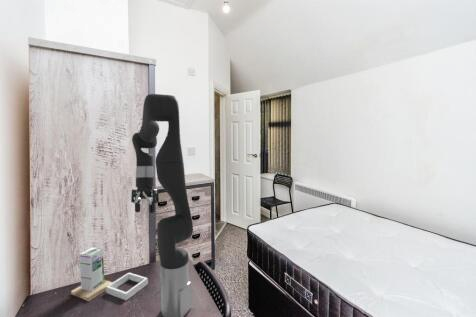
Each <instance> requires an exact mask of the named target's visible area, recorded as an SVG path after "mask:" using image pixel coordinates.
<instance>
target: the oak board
mask: <svg viewBox="0 0 476 317" xmlns="http://www.w3.org/2000/svg"><path fill="white" fill-rule="evenodd" d="M113 282H114V281H110V280H107V279H105V283H104V284H102V285H101V286H99V287H98V288H96V289H95V290H94V291H87V290H83V289H81V285H79V286H77V287H76V288H74V289H72V290H71V291H70V294H71V295H72V296H74V297H77V298H80V299H83V300H85V301H87V302H90V301H91V300H93V299H94V298H96V297H97V296H99V295H101V294H103V293H104V292H106V287H107V286H108V285H110V284H111V283H113Z"/></svg>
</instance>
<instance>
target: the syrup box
mask: <svg viewBox="0 0 476 317" xmlns="http://www.w3.org/2000/svg"><path fill="white" fill-rule="evenodd" d="M78 257H79V273H80V286H81V289H83V290H87V291H94V290H95V289H96V288H98V287H99V286H101V285H102V284H104V283H105V280H106V279H105V265H104V264H105V263H104V262H105V261H104V249H103V248H101V247H90V248H88V249H86V250H85V251H83V252H81V253H79V254H78Z"/></svg>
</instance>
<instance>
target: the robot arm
mask: <svg viewBox="0 0 476 317" xmlns="http://www.w3.org/2000/svg"><path fill="white" fill-rule="evenodd" d="M179 106H180V105H179V102H178V99H177V97H176V96H175V95H171V94H161V93H160V94H159V93H149V94H147V95H146V96H145V98H144V102H143V108H142V109H143V110H142V116H141V117H142V119H141V120H142V122H141V125H140V126H141V127H140V130H139V131H138V132H135V133H133V135H132V138H131V141H132V145H133V149H134V151H135V156H136V157H135V158H136V160H135V161H136V162H135V163H136V166H135V167H136V168H135V189H133V188H132V189H131V194H130V195H131V198H130V202H131V203H133V204H134V212H135V213H140V212H141V202H142V201H143V200H146V201H147V202H148V203H149V207H148V210H149V214H154V213H155V211H156V206H155V205H156V204H158V203H159V202H160V200H159V199H160V198H159V197H160V196H159V189H158V188H155V189H154V188H153V187H154V185H155V184H154V180H155V179H154V171H156V177H157V180H158V183H159V185H161V187H162V188H163V189H164V191H165V193H167V194H168V196H169V197H170V199H171V200H172V203H173V206H174V212H175V213H174V215H171V216H166V217H163V218H161V219H160V220H159V221H158V222H157V223H158V224H157V226H156V233H157V234H156V236H157V246H158V250H157V251H158V256H159V261H160V262H159V264H160V266H159V267H160V303H161V305H160V307H161V316H162V317H185V316H186V314H188V312H190V310H191V309H192V282H191V281H189V253H188V251H187V250H186V249H184V248H177V247H176V244H178V243H179V244H180V243H181V242H184V241H187V240H189V239H190V238H191V237H192V236H193V233H194V223H193V218H192V214H191V209H190V208H191V207H190V205H189V200H188V194H187V192H188V191H187V186H186V185H187V184H186V175H185V165H184V164H185V163H184V157H183V150H182V143H181V130H180V129H181V127H180V108H179ZM158 122H168V123H167V124H168V128H167V134H166V137H165V139H164V141H163V143H162V144H161V147H160V148H159V150H158V152H157V154H156V157H155V169H156V170H154V156H153V154H152V153H148V152H144V151H143V150H142V149H154V148H155V147H157V143H158V140H157V137H158V134H159V132H160V125H159V123H158Z"/></svg>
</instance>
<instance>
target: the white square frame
mask: <svg viewBox="0 0 476 317" xmlns="http://www.w3.org/2000/svg"><path fill="white" fill-rule="evenodd" d="M127 281H132V282H135V283H137V284H135V285H134V286H133V287H131V288H130V289H128V290H127V291H124V290H121V289H119V287H120V286H121V285H123V284H124V283H126V282H127ZM112 282H113V283H111V284H110V285H108V286H107V287H106V290H105V292H106V294H108V295H111V296H112V297H116V298H119V299H121V300H124V301H127V300H129V299H131V298H132V297H133V296H135V294H137V293H138V292H140V290H143V288H145V287H146V286H147V285H148V284H149V278H148V277H146V276H142V275H139V274H135V273H132V272H127V273H125V274H124V275H122V276H121V277H119V278H117V279H116V280H114V281H112Z"/></svg>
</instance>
